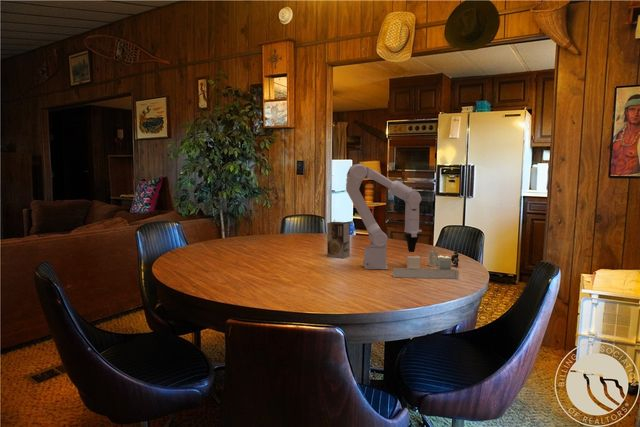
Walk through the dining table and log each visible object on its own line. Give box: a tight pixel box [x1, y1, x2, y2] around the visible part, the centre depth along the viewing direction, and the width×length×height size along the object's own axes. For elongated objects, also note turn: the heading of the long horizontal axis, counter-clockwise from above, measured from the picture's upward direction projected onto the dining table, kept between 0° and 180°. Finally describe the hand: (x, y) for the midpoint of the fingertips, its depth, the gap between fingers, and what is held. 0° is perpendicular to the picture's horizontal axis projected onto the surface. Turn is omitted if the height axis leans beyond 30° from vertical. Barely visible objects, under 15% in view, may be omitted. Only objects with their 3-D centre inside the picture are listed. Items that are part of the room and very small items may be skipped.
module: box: [406, 254, 421, 268], centre depth 169 cm, size 4×7×6 cm
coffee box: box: [326, 221, 351, 259], centre depth 200 cm, size 9×6×16 cm
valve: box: [427, 249, 460, 267], centre depth 180 cm, size 7×7×12 cm
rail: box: [392, 258, 460, 280], centre depth 163 cm, size 24×8×6 cm, turn 86°
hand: (411, 251), depth 178 cm, fingers closed
